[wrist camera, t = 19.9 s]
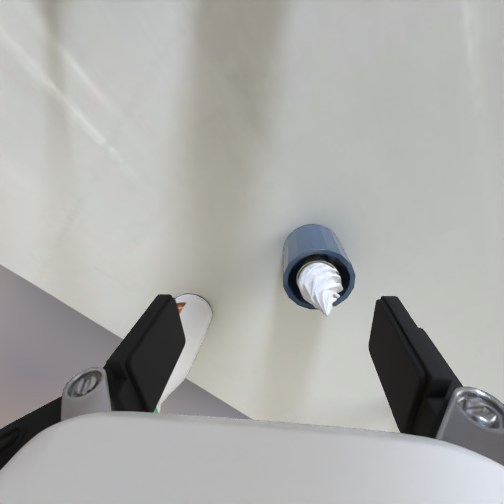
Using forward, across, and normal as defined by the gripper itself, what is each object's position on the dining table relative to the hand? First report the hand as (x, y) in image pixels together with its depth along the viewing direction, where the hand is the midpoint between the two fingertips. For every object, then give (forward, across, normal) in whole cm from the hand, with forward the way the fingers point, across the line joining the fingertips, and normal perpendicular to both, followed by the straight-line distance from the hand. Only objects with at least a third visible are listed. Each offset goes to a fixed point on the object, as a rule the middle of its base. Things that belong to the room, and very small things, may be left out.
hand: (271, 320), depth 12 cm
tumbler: (+26, -4, +9) cm, 28 cm away
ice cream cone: (+25, -4, +9) cm, 27 cm away
